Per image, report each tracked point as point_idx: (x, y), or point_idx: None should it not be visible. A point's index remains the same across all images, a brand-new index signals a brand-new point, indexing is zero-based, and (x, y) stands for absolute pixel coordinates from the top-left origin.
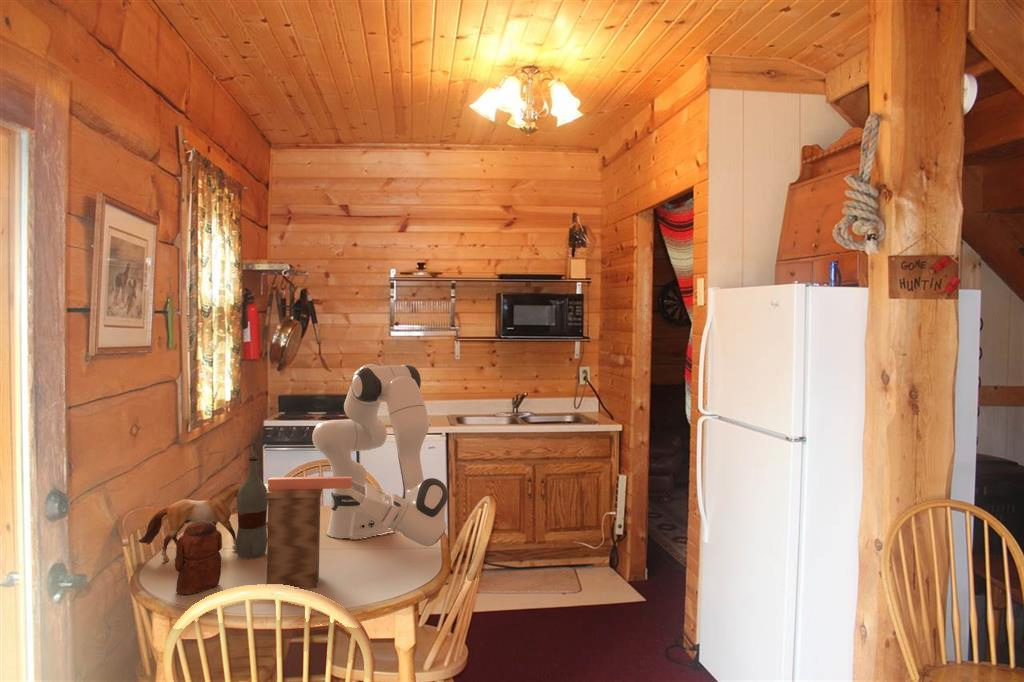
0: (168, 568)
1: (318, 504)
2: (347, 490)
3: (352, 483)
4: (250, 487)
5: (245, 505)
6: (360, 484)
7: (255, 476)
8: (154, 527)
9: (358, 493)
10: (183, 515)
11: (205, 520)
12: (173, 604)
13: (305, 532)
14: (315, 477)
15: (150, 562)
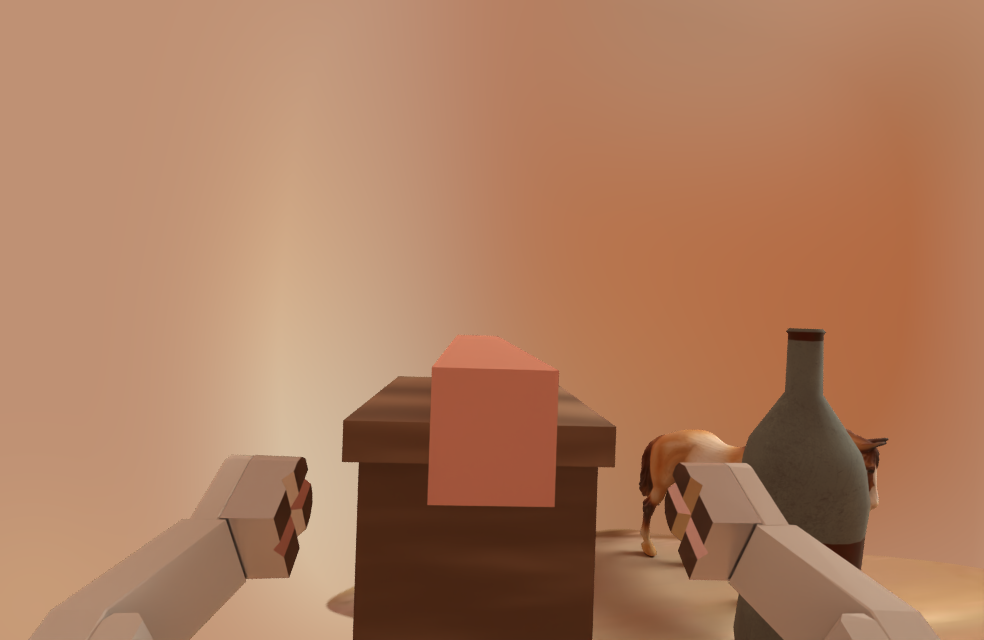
0: (601, 562)
1: (358, 512)
2: (304, 485)
3: (696, 502)
4: (762, 430)
5: None
6: (856, 596)
7: (796, 398)
8: (645, 469)
9: (111, 572)
10: (667, 461)
11: None
12: (348, 597)
13: None
14: (494, 345)
15: (633, 540)
